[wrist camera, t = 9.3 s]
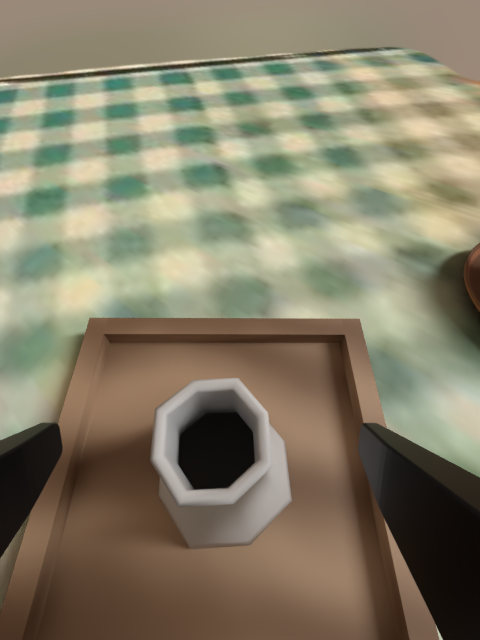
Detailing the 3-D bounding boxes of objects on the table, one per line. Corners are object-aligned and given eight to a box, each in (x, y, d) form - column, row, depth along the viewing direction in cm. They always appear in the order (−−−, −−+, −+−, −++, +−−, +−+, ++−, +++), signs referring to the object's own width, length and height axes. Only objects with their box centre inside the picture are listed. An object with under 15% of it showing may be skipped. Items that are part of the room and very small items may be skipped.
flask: (145, 428, 17) (53, 359, 9) (259, 384, 19) (278, 288, 10) (177, 580, 14) (78, 722, 5) (314, 512, 15) (418, 533, 6)
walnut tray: (434, 715, 12) (466, 751, 10) (-4, 720, 12) (-45, 758, 10) (349, 333, 21) (359, 318, 20) (101, 332, 21) (89, 317, 19)
